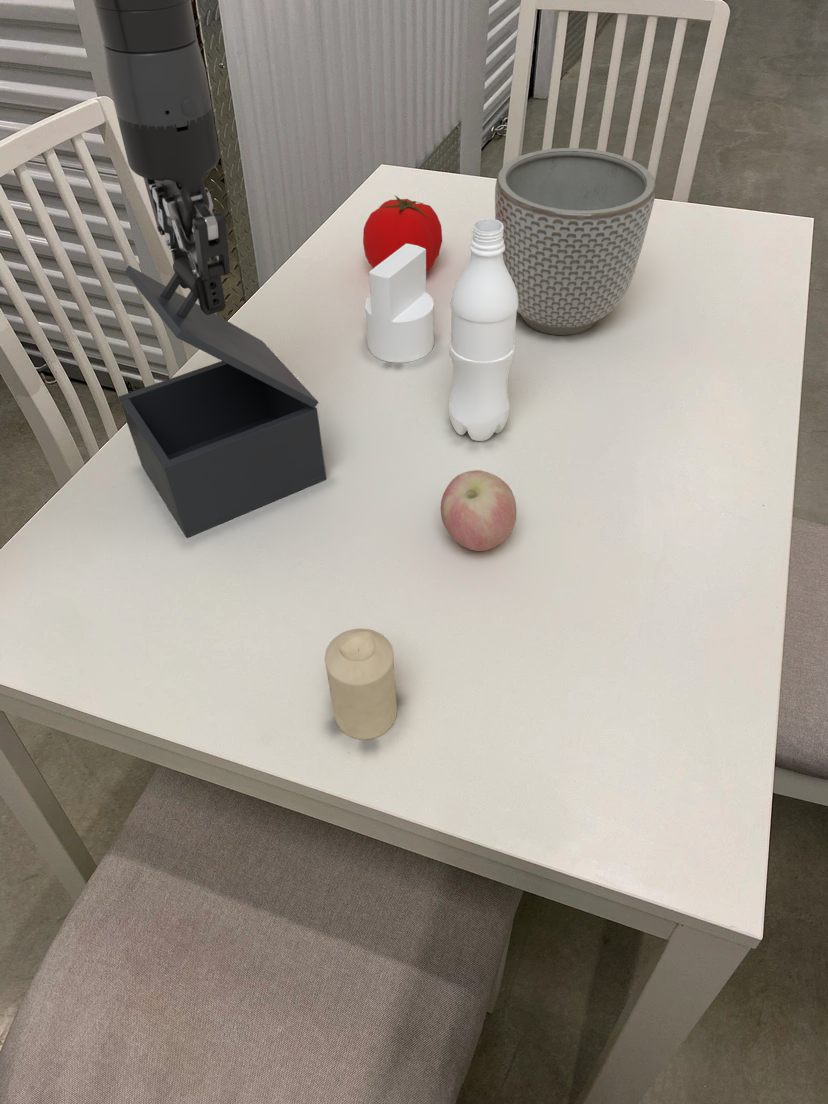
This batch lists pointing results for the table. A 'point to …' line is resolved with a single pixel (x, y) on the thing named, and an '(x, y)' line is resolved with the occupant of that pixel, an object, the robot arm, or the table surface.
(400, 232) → the tomato
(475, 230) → the water bottle
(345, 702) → the candle
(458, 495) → the apple
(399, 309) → the base with upright slab
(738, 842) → the table surface
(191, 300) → the dark grey box lid
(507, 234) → the planter
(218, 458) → the dark grey open box
